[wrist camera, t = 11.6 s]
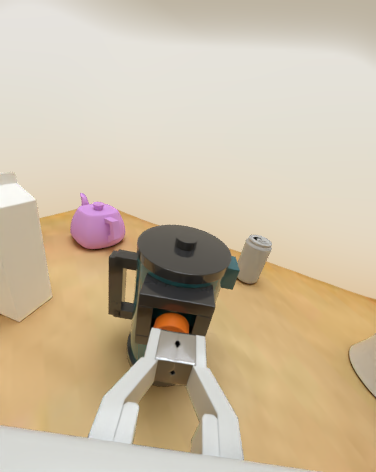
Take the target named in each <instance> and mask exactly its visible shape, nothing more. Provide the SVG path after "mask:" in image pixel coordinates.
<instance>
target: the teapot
mask: <svg viewBox="0 0 376 472" xmlns="http://www.w3.org/2000/svg"><path fill="white" fill-rule="evenodd" d="M80 196H81V200H82V206H80V207H79V208H78V209H77V210H76V212H75V214H74V216H73V219H72V222H71V235H72V237H73V238H74V239H75V240H76V241H77V242H78V243H79V244H80V245H81V246H83V247H85V248H88V249H99V248H105V247H109V246H112V245H115V244H117V243H119V242H120V241H121V240H122V239H123V238H124V236H125V226H124V222H123V220H122V218H121V215H120V213H119V212H118V210H117V209H115V208H114V207H112V206H110V205H108V204H104V203H102V202H94V203H93V204H89V203H88V200H87V197H86V196H85V194H83V193H80Z"/></svg>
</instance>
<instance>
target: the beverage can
mask: <svg viewBox="0 0 376 472" xmlns="http://www.w3.org/2000/svg"><path fill="white" fill-rule="evenodd" d="M271 245H272V243H271V242H270V240H268V239H266V238H264V237H262V236H258V235H250V236H249V238H248V239H247V240H246V242H245V245H244V247H243V250H242V253H241V255H240V258H239V261H238V266H239V269H240V272H239V274H238V277H237V278H238V279H239V280H241V281H242V282H244V283H248V284H252V283H255V282H257V280H258V278H259V276H260V274H261V272H262V269H263V267H264V265H265V263H266V261H267V258H268V256H269V254H270V252H271V249H272V248H271Z"/></svg>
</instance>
